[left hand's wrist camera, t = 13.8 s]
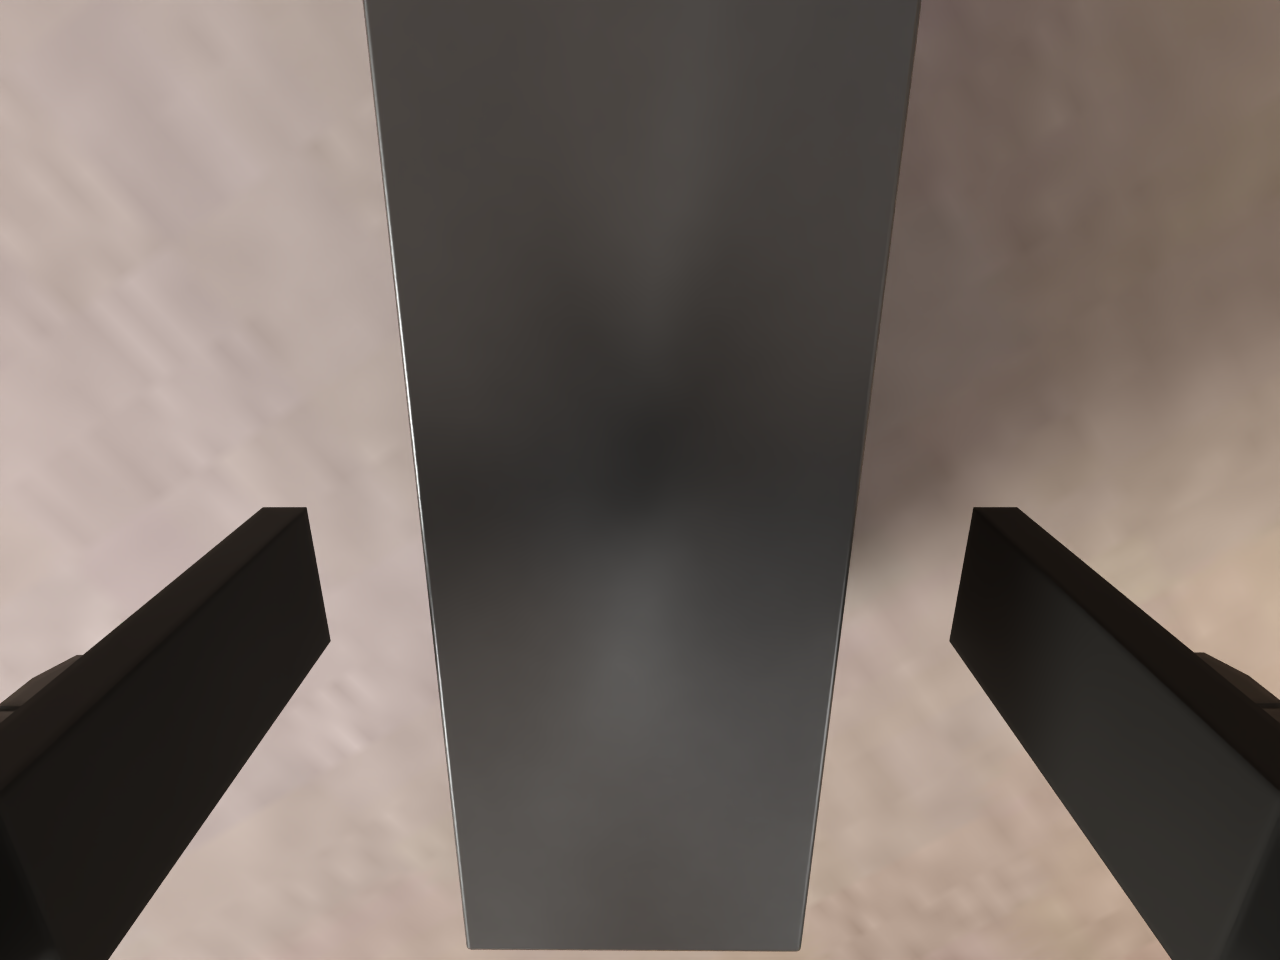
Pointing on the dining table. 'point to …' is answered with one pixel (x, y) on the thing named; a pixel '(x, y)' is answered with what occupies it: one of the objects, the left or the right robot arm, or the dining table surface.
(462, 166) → the bar
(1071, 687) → the left robot arm
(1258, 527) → the dining table surface
